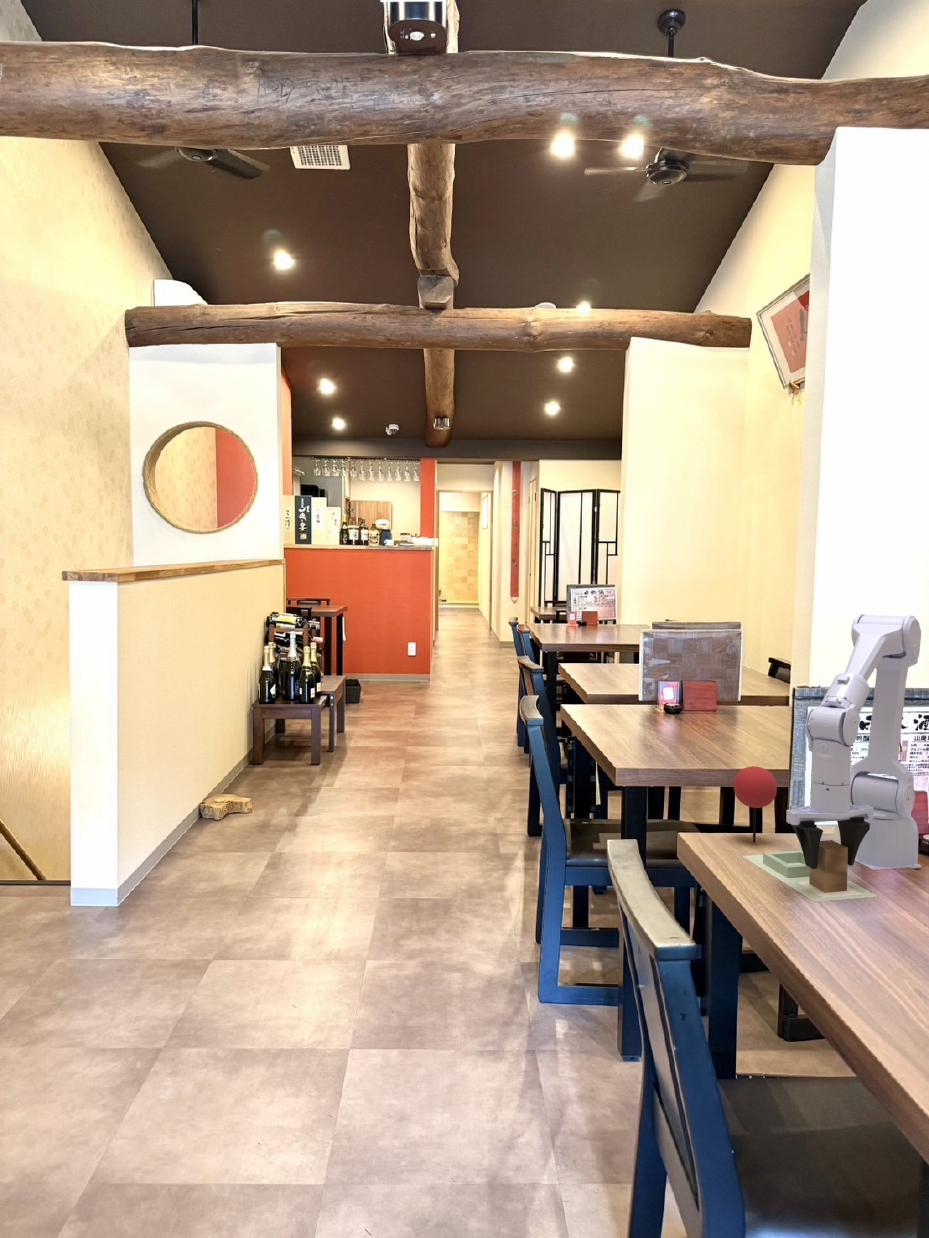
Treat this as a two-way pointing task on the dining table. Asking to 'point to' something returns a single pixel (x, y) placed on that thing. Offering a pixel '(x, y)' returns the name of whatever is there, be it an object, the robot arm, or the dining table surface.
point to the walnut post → (830, 867)
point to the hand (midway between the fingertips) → (829, 865)
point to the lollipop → (755, 789)
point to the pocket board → (802, 876)
